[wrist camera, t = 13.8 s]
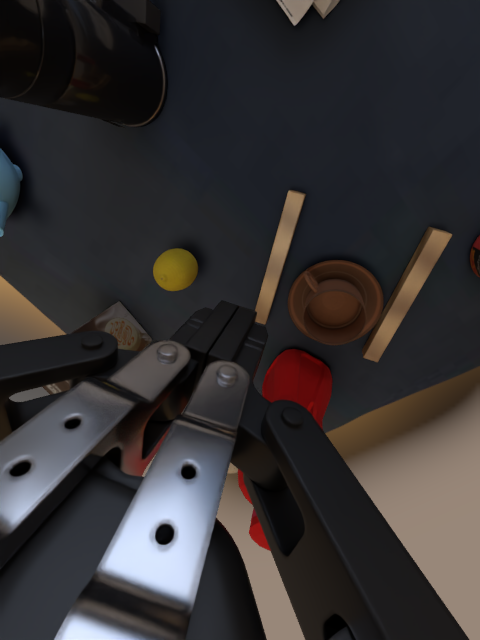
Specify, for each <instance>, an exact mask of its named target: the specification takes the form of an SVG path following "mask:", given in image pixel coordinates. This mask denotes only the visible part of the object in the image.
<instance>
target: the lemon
mask: <svg viewBox="0 0 480 640" xmlns="http://www.w3.org/2000/svg"><path fill="white" fill-rule="evenodd" d="M197 273H198V264H197V261H196V259H195V257H194V256H193V255H192V254H191V253H190V252H188V251H186V250H184V249H178V248H176V249H170V250H168V251H166V252H164V253H163V254H161V255H160V256H159V257H158V259H157V260H156V262H155V264H154V268H153V275H154V278H155V280H156V282H157V283H158V284H159V285H160V286H161V287H162V288H164V289H166V290H169V291H178V290H182V289H185V288H186V287H188V286H189V285H191V284H192V282H193V281H194V280H195V278H196V276H197Z"/></svg>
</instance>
